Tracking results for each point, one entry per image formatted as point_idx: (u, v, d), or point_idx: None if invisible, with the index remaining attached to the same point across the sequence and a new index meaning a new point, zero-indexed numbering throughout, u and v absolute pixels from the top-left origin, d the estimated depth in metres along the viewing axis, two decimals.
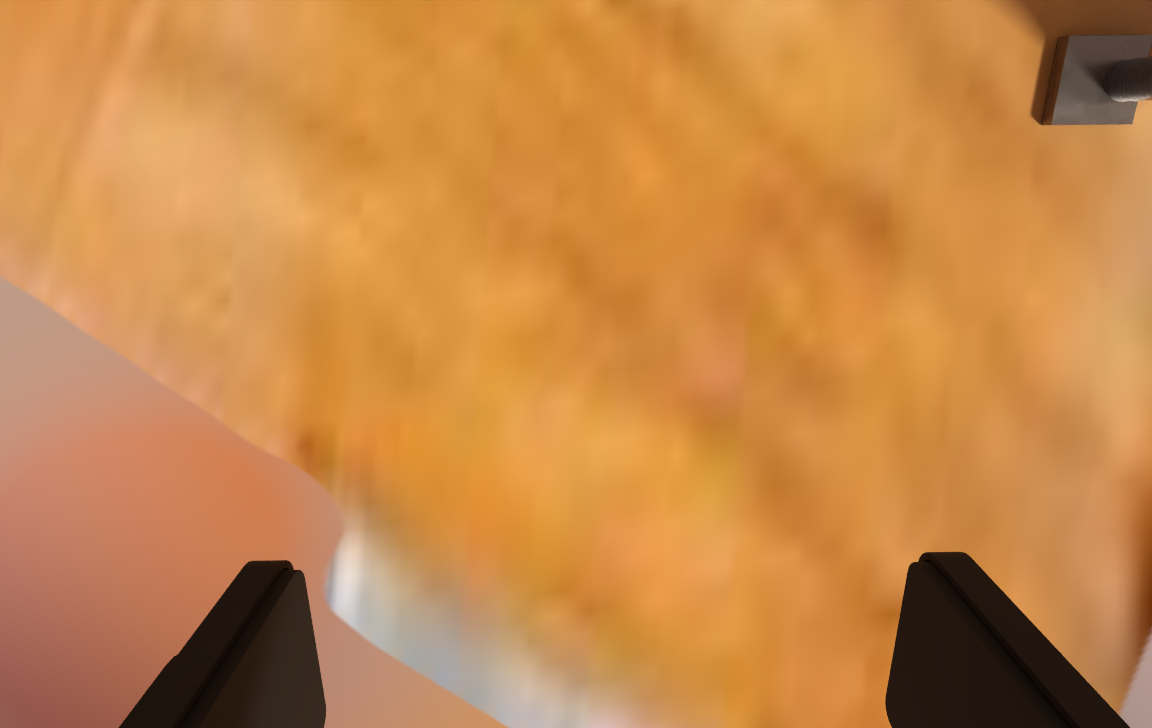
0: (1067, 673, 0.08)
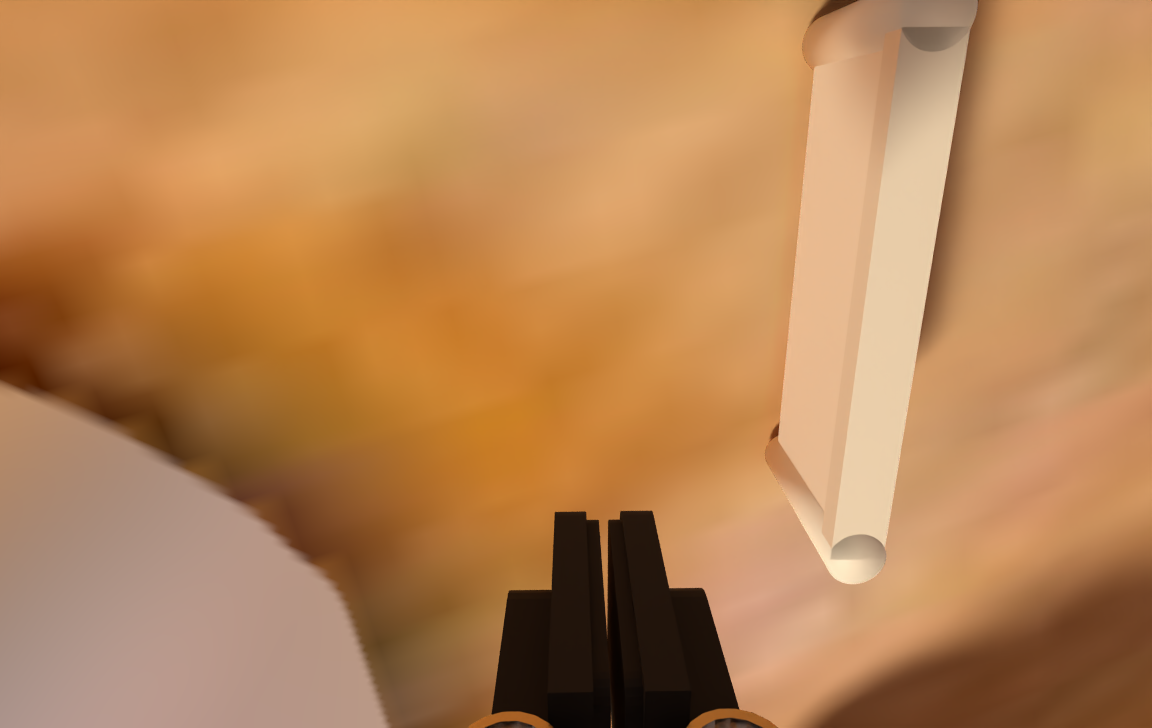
0: (662, 605, 0.09)
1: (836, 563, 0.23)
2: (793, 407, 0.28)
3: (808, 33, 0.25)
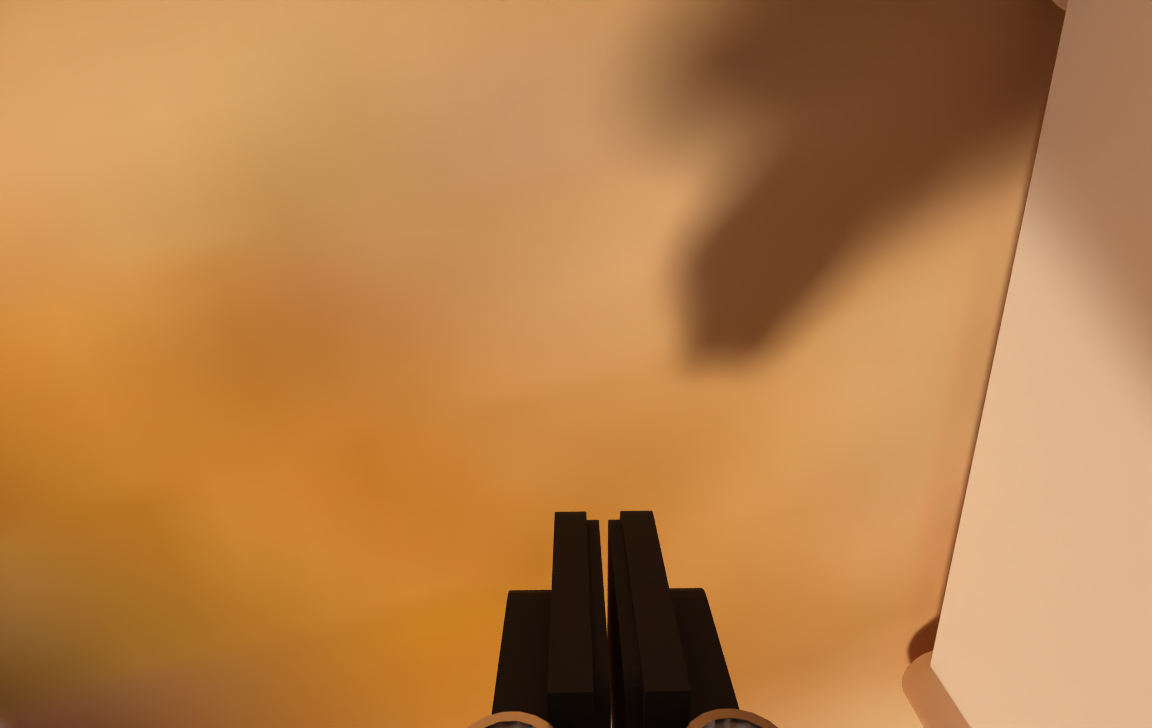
0: (662, 605, 0.09)
1: None
2: (981, 638, 0.15)
3: None
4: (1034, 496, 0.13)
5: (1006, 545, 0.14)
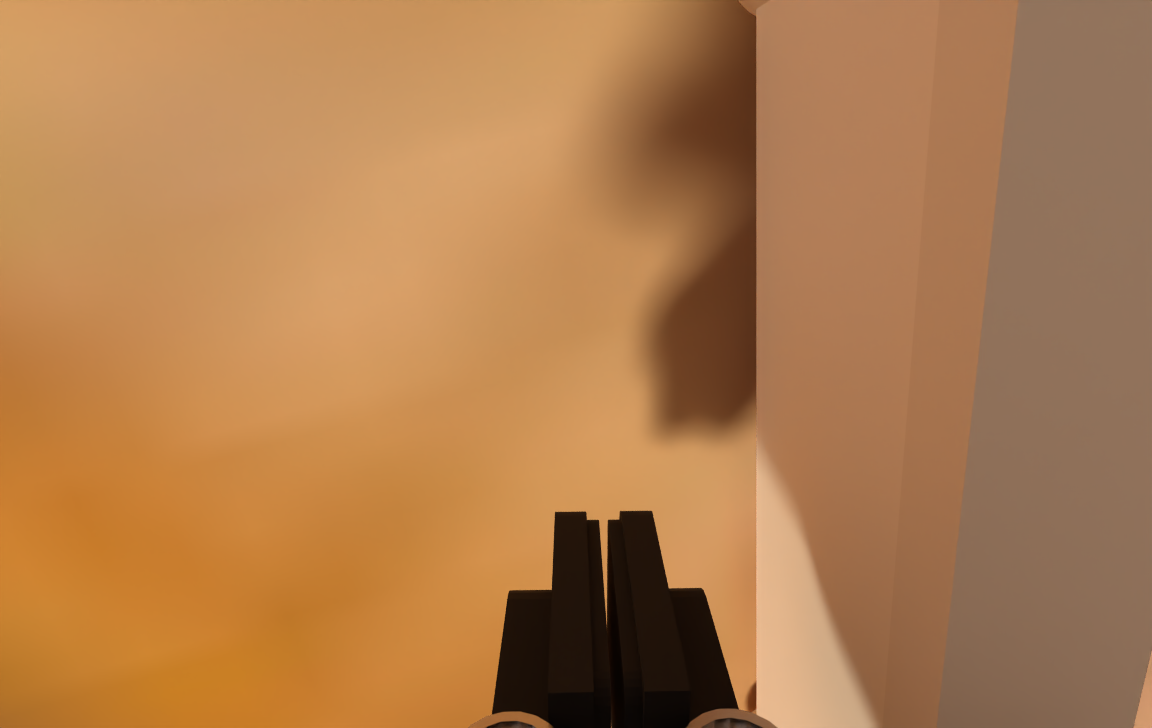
0: (661, 605, 0.09)
1: None
2: (776, 703, 0.14)
3: None
4: (786, 555, 0.12)
5: (778, 605, 0.13)
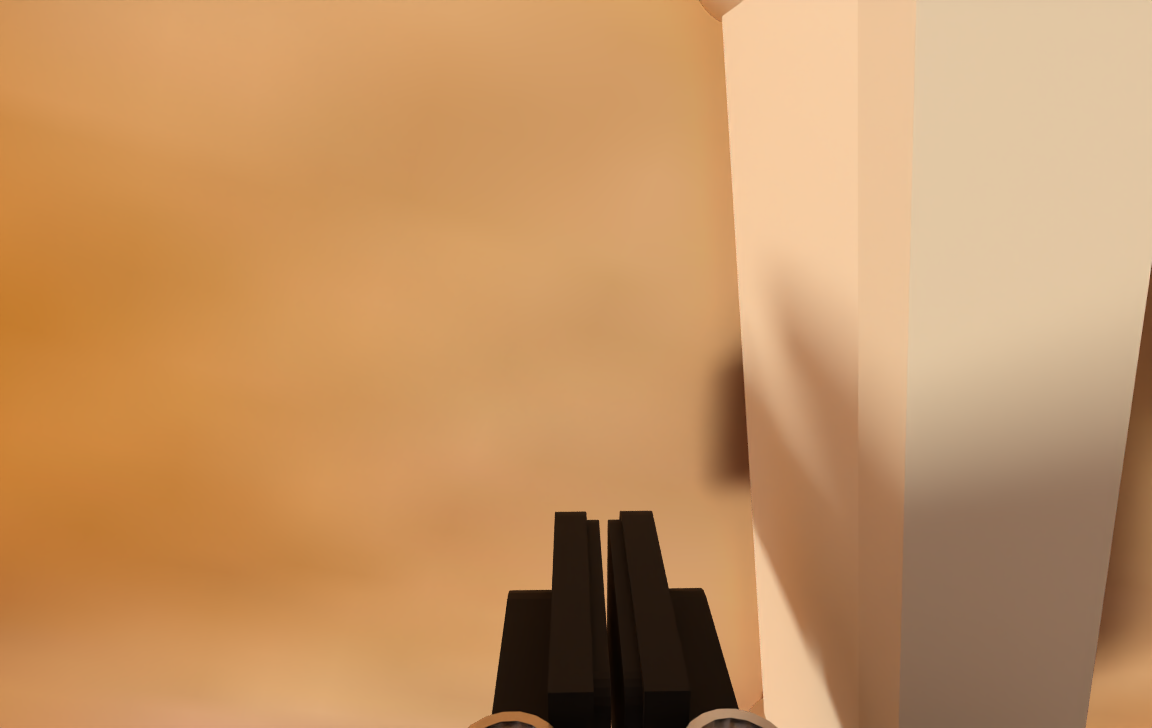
0: (661, 605, 0.09)
1: None
2: (778, 690, 0.14)
3: None
4: (778, 546, 0.12)
5: (774, 595, 0.13)
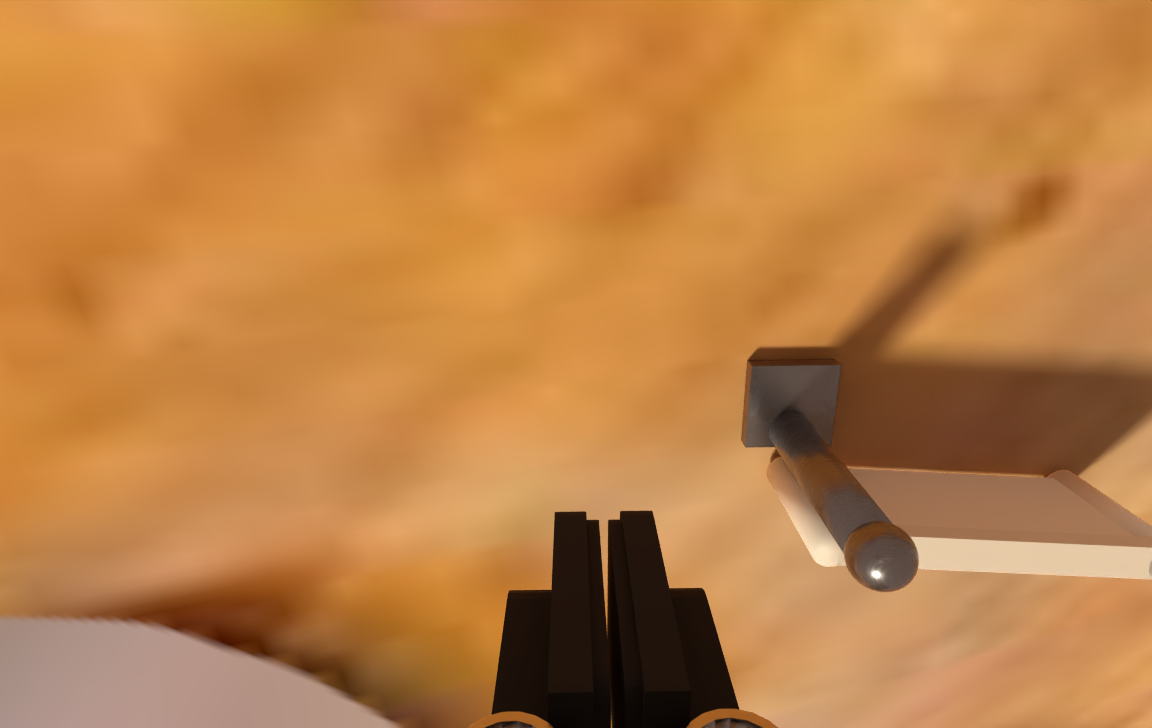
0: (662, 605, 0.09)
1: None
2: None
3: None
4: None
5: None
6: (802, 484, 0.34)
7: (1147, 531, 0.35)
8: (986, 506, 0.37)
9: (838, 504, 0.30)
